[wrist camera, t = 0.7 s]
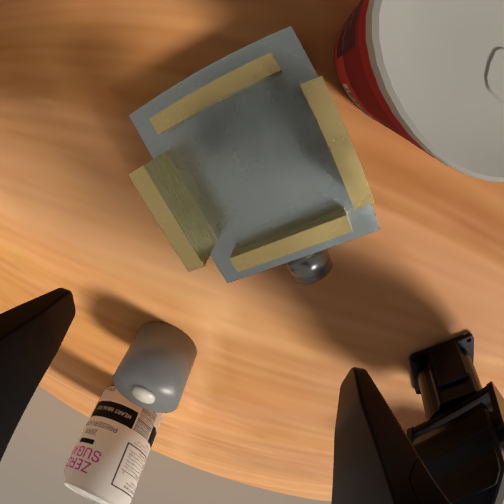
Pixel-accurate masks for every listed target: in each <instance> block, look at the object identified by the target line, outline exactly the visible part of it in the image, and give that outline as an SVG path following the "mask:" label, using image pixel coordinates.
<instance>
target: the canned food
mask: <svg viewBox="0 0 504 504" xmlns="http://www.w3.org/2000/svg"><path fill="white" fill-rule="evenodd" d="M334 62H335V67H336V73H337V75H338V78H339V80H340V83H341V86H342V87H343V89H344V90H345V92H346V94H347V95H348V97H349V98H350V99H351V100H352V101H353V103H354V104H355V105H356V106H357V107H358V108H359V109H360V110H362V111H363V112H364V113H365V114H366V115H368V116H369V117H371V118H373V119H374V120H376V121H378V122H379V123H381V124H383V125H384V126H386V127H388V128H389V129H391V130H392V131H394V132H396V133H397V134H399V135H400V136H402V137H404V138H405V139H407V140H408V141H410V142H411V143H413V144H414V145H416V146H417V147H419V148H420V149H422V150H423V151H425V152H426V153H428V154H429V155H431V156H432V157H434V158H436V159H437V160H439V161H440V162H442V163H443V164H445V165H447V166H449V167H451V168H453V169H455V170H458V171H460V172H462V173H464V174H467V175H469V176H471V177H474V178H478V179H483V180H487V181H502V182H504V0H361V2H360V3H359V5H358V6H357V7H356V9H355V10H354V11H353V13H352V14H351V16H350V17H349V18H348V20H347V21H346V23H345V24H344V25H343V27H342V29H341V31H340V33H339V35H338V37H337V40H336V44H335V49H334Z"/></svg>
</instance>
